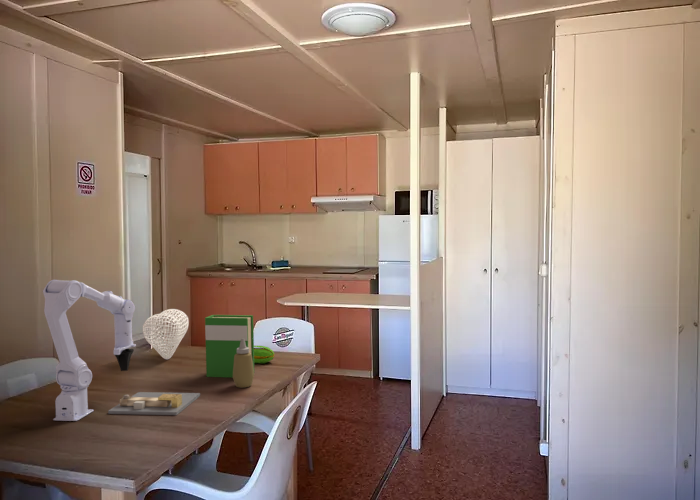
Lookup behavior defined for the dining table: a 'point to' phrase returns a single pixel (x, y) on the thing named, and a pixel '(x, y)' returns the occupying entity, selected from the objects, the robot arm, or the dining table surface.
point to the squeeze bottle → (243, 366)
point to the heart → (154, 326)
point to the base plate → (151, 410)
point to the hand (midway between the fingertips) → (124, 370)
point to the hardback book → (226, 342)
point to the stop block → (139, 404)
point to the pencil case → (263, 354)
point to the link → (148, 400)
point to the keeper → (172, 399)
